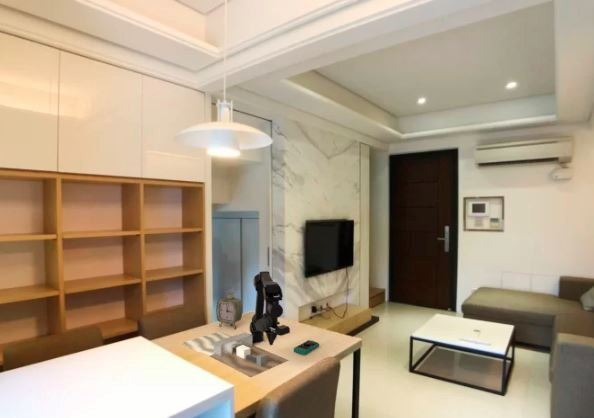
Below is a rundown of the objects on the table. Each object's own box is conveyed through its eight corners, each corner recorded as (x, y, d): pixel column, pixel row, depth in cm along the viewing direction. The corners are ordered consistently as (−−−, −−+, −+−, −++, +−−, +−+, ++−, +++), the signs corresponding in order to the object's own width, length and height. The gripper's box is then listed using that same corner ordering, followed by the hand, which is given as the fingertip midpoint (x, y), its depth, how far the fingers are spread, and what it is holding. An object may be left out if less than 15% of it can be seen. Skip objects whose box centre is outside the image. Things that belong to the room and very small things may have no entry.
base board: (219, 333, 208) (219, 331, 208) (288, 362, 170) (288, 360, 170) (183, 344, 191) (183, 342, 191) (250, 379, 152) (250, 377, 152)
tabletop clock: (216, 327, 218) (216, 287, 218) (224, 323, 227) (224, 284, 227) (235, 330, 213) (236, 289, 213) (243, 326, 221) (244, 286, 221)
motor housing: (245, 344, 189) (245, 332, 189) (252, 347, 185) (252, 334, 185) (213, 355, 174) (213, 342, 174) (220, 358, 170) (220, 345, 170)
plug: (241, 352, 179) (241, 344, 179) (266, 363, 166) (266, 355, 166) (234, 354, 176) (235, 346, 176) (260, 366, 163) (260, 357, 163)
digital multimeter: (319, 347, 190) (319, 342, 190) (304, 356, 178) (304, 350, 178) (308, 344, 194) (308, 339, 194) (293, 353, 182) (293, 347, 182)
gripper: (245, 310, 161) (244, 344, 161) (272, 319, 149) (272, 356, 149) (263, 305, 169) (262, 338, 169) (290, 314, 157) (290, 348, 157)
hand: (271, 345), depth 161 cm, fingers closed
